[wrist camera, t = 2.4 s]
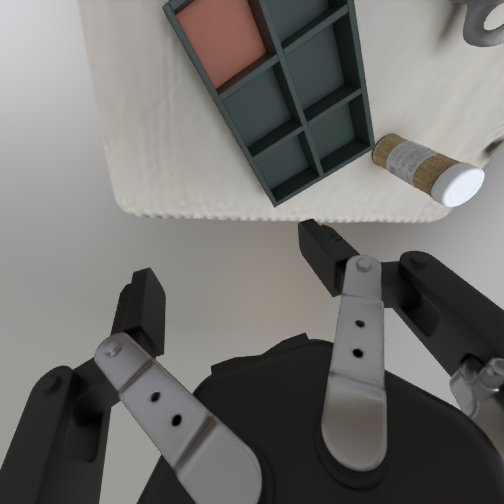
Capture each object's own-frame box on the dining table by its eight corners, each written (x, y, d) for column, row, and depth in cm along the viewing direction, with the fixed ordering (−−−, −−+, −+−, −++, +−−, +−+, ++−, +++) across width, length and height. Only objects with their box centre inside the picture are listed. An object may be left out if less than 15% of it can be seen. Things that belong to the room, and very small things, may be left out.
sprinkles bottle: (401, 153, 37) (484, 193, 27) (373, 170, 37) (443, 215, 28) (398, 126, 34) (489, 159, 24) (368, 145, 35) (444, 185, 25)
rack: (309, -106, 19) (334, -136, 16) (357, 138, 33) (375, 147, 30) (164, 12, 22) (161, 6, 19) (266, 193, 36) (274, 207, 33)
